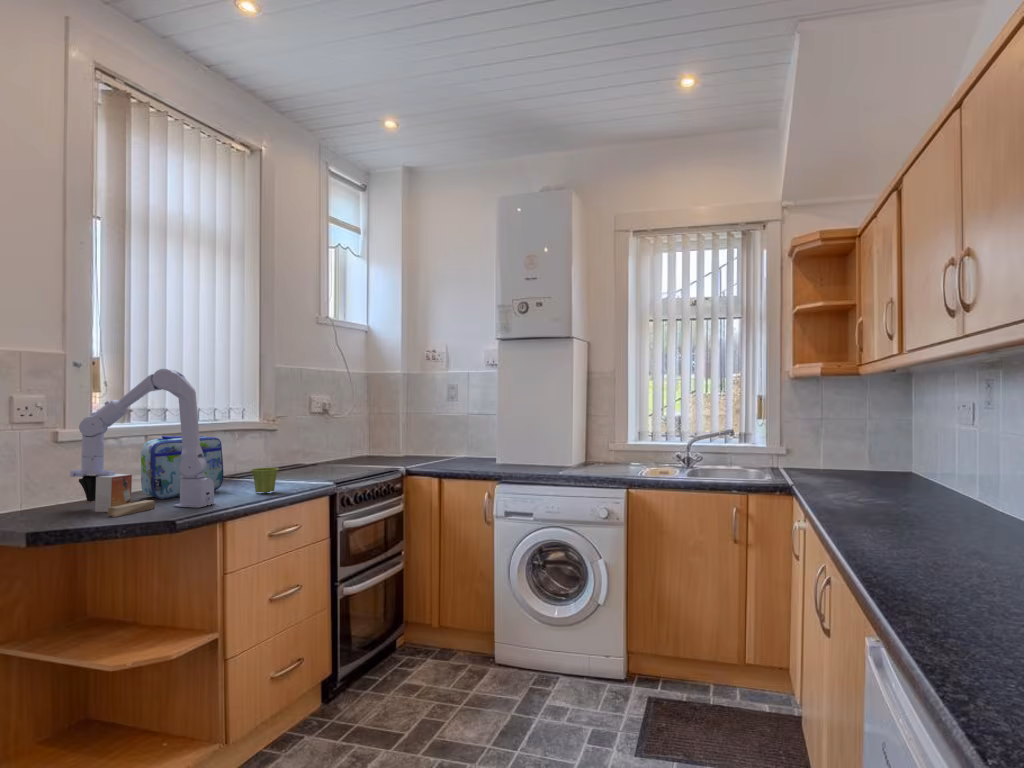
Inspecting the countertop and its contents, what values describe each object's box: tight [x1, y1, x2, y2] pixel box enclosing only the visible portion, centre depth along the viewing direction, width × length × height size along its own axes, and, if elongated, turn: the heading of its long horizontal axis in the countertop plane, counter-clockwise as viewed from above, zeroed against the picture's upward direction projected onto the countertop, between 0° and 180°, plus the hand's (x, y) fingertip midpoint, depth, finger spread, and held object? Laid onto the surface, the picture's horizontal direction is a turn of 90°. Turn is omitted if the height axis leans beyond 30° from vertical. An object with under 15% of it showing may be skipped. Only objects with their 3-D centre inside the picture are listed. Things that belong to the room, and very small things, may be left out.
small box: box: [94, 473, 133, 513], centre depth 192 cm, size 8×6×10 cm
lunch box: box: [140, 435, 224, 500], centre depth 223 cm, size 26×11×21 cm, turn 146°
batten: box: [107, 499, 155, 518], centre depth 188 cm, size 3×14×2 cm, turn 167°
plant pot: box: [250, 467, 280, 493], centre depth 228 cm, size 9×9×9 cm
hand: (91, 501), depth 194 cm, fingers closed
